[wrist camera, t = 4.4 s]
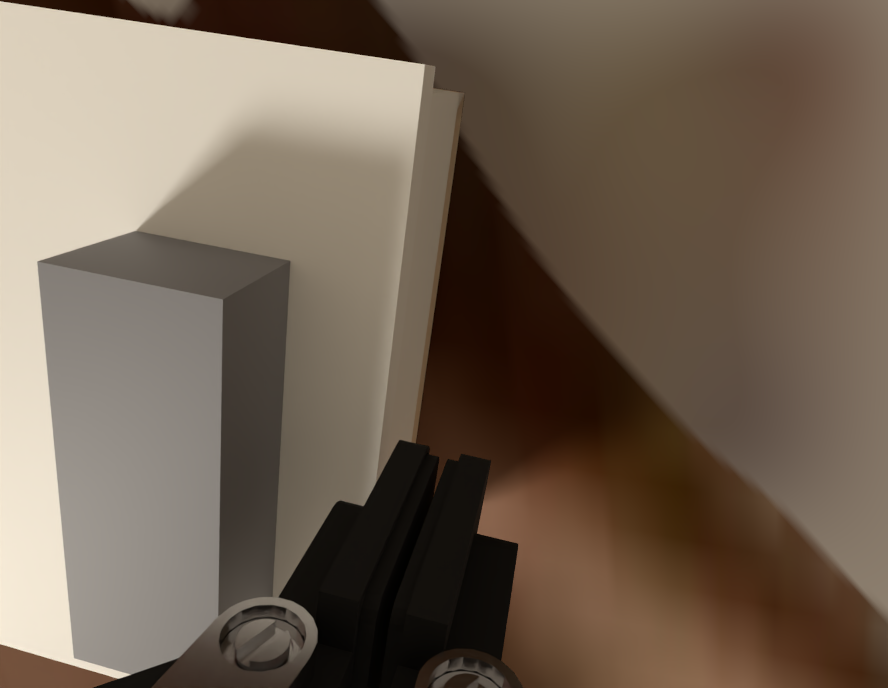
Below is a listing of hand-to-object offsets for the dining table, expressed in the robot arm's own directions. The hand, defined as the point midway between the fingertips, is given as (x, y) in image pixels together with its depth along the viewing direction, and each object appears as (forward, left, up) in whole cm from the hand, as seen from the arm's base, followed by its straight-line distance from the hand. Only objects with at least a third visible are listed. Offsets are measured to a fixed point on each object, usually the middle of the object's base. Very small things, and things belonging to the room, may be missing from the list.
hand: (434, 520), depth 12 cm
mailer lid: (+12, 0, -4) cm, 13 cm away
